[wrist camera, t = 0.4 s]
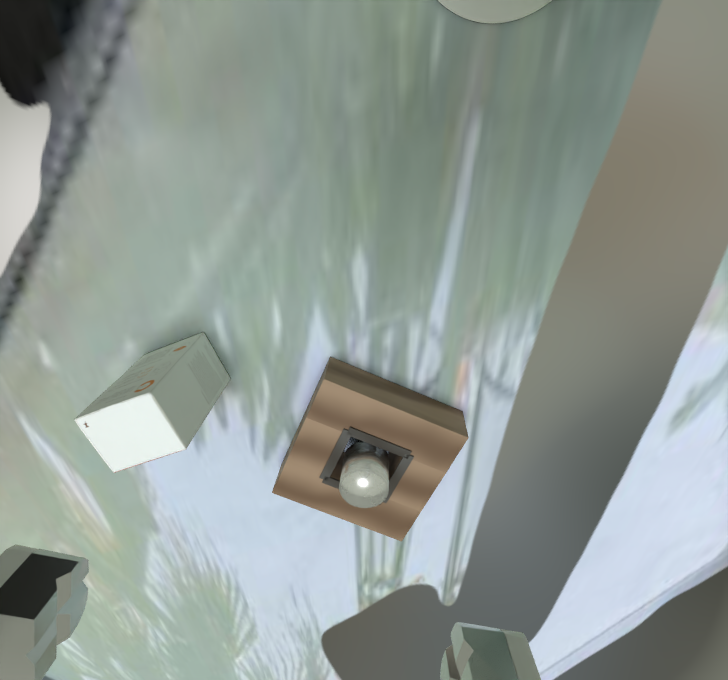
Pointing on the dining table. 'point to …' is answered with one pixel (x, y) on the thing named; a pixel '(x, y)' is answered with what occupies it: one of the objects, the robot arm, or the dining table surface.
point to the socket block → (379, 428)
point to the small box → (155, 404)
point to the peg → (364, 475)
